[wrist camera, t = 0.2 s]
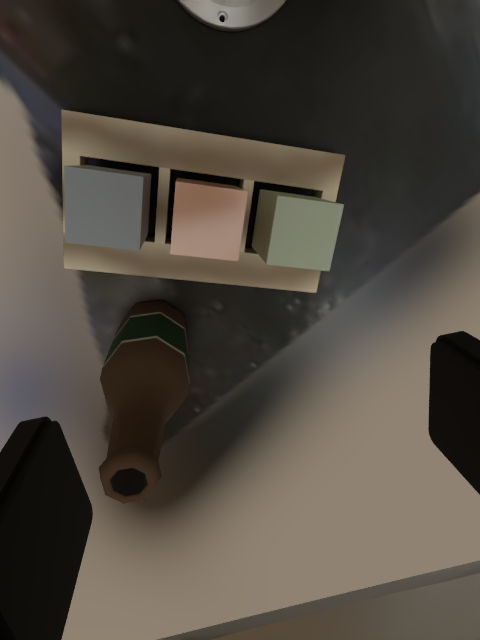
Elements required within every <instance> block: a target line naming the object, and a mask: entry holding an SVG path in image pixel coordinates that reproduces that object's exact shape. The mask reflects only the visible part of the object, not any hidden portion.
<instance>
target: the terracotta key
mask: <svg viewBox="0 0 480 640" xmlns="http://www.w3.org/2000/svg"><path fill="white" fill-rule="evenodd" d="M247 195H248V191H246V190H244V189H242V188H239V187H237V186H233V185H226V184H219V183H212V182H205V181H197V180H190V179H183V178H177V180H176V185H175V197H174V210H173V223H172V236H171V249H170V254H174V255H183V256H192V257H202V258H211V259H220V260H229V261H238V260H239V253H240V246H241V239H242V231H243V224H244V217H245V210H246V202H247Z"/></svg>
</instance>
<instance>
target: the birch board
mask: <svg viewBox="0 0 480 640" xmlns="http://www.w3.org/2000/svg"><path fill="white" fill-rule="evenodd" d="M61 112H62V175H63V238H64V268H67V269H77V270H88V271H98V272H108V273H118V274H129V275H139V276H149V277H159V278H170V279H180V280H190V281H200V282H211V283H221V284H231V285H241V286H252V287H262V288H272V289H282V290H293V291H303V292H313V293H316V291H317V286H318V282H319V277H320V272H321V270H313V269H304V268H294V267H285V266H276V265H267V264H266V263H265V262H264V261H263V260H262V258H261V257H260V256H259V255H258V253H257V252H256V251H255V250H254V249H253V248H246V247H245V243H246V236H247V229H248V222H249V215H250V208H251V201H252V194H253V187H254V181H259V182H266V183H273V184H280V185H287V186H294V187H301V188H308V189H314V192H313V197H317V198H321V199H324V200H328V201H332V202H336V197H337V192H338V188H339V183H340V178H341V173H342V169H343V164H344V159H345V155H341V154H335V153H328V152H322V151H316V150H310V149H304V148H297V147H291V146H285V145H279V144H272V143H266V142H260V141H254V140H248V139H241V138H235V137H229V136H223V135H217V134H210V133H204V132H198V131H192V130H186V129H179V128H173V127H167V126H161V125H154V124H148V123H142V122H136V121H130V120H123V119H117V118H111V117H105V116H99V115H92V114H86V113H80V112H74V111H68V110H61ZM87 157H92V158H99V159H106V160H113V161H120V162H127V163H134V164H141V165H148V166H155V167H159V181H158V197H157V213H156V228H155V237H150V236H147V237H146V239H145V241H144V243H143V245H142V247H141V249H140V251H137V250H127V249H118V248H109V247H100V246H90V245H81V244H72V243H65V182H64V166H79V165H87ZM171 169H175V170H182V171H189V172H196V173H203V174H210V175H217V176H224V177H231V178H238V179H240V183H239V188H242V189H244V190H246V191H248V195H247V202H246V210H245V217H244V224H243V231H242V239H241V246H240V253H239V260H238V261H229V260H220V259H211V258H202V257H192V256H183V255H174V254H170V249H171V239H167V238H166V233H167V220H168V206H169V192H170V178H171Z"/></svg>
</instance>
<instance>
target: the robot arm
mask: <svg viewBox="0 0 480 640" xmlns="http://www.w3.org/2000/svg"><path fill="white" fill-rule="evenodd" d="M176 1H177V2H178V3H179V4H180V5H181V6H182V7H183V8H184V10H185V11H186V12H187V13H189V14H190V15H191V16H192V17H194V18H195V19H196V20H197V21H199V22H201V23H203V24H205V25H207V26H209V27H211V28H214V29H218V30H222V31H235V32H238V31H243V30H248V29H251V28H254V27H256V26H258V25H260V24H262V23H264V22H265V21H267V20H268V19H269V18H271V17H272V16H273V15H274V14H275V13H276V12H277V11H278V10H279V9H280V8H281V6H282V5H283V4H284V3H285V1H286V0H176ZM220 17H224V19H225V21H224V22H220V20H219V18H220ZM429 435H430V437H431V440H432V441H433V443H434V444H435V445H436V446H437V448H438V449H439V450H440V451H441V452H442V453H443V454H444V456H445V457H446V458H447V459H448V460H449V461H450V462H451V463H452V464H453V465H454V467H455V468H456V469H457V470H458V471H459V472H460V473H461V474H462V475H463V477H464V478H465V479H466V480H467V481H468V482H469V483H470V484H471V485H472V486H473V488H474V489H475V490H476V491H477V492H478V493H479V494H480V340H478V339H477V338H475V337H473V336H472V335H470V334H468V333H466V332H464V331H460V332H455V333H450V334H445V335H440V336H439V337H438V338H437V340H436V342H435V343H433V344H432V345H431V354H430V395H429ZM92 515H93V513H92V506H91V502H90V500H89V497H88V495H87V492H86V490H85V487H84V485H83V482H82V480H81V477H80V475H79V472H78V469H77V467H76V464H75V462H74V459H73V457H72V454H71V452H70V449H69V447H68V444H67V442H66V439H65V437H64V434H63V432H62V429H61V426H60V424H59V423H58V422H57V421H51V420H50V419H49V418H48V417H41V418H36V419H31V420H27V421H22V422H20V423H19V424H18V425H17V427H16V429H15V430H14V432H13V433H12V435H11V436H10V438H9V439H8V441H7V443H6V444H5V446H4V447H3V449H2V450H1V452H0V640H61V639H62V635H63V631H64V627H65V623H66V619H67V615H68V612H69V608H70V604H71V600H72V596H73V592H74V588H75V585H76V580H77V577H78V572H79V569H80V565H81V561H82V557H83V554H84V550H85V546H86V541H87V538H88V534H89V530H90V526H91V523H92ZM158 640H480V561H476V562H472V563H468V564H464V565H459V566H455V567H451V568H447V569H442V570H439V571H435V572H430V573H426V574H422V575H417V576H413V577H409V578H405V579H401V580H397V581H393V582H389V583H385V584H380V585H376V586H372V587H368V588H364V589H360V590H356V591H352V592H348V593H344V594H340V595H336V596H331V597H327V598H323V599H319V600H315V601H311V602H307V603H303V604H299V605H295V606H291V607H287V608H282V609H278V610H274V611H270V612H266V613H263V614H259V615H254V616H250V617H246V618H242V619H238V620H234V621H230V622H226V623H222V624H218V625H214V626H210V627H206V628H202V629H198V630H194V631H190V632H186V633H182V634H179V635H174V636H170V637H166V638H162V639H158Z"/></svg>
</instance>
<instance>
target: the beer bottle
mask: <svg viewBox="0 0 480 640" xmlns="http://www.w3.org/2000/svg"><path fill="white" fill-rule="evenodd" d="M100 381H101V384H102V388H103V391H104V395H105V399H106V402H107V406H108V410H109V413H110V415H111V416H112V417H113V423H112V429H111V435H110V441H109V447H108V453H107V458H106V460H105V461H104V462H103V463H102V465H101V466H100V467H99V471H100V479H101V482H102V485H103V488H104V492H105V495H107V496H109V497H111V498H113V499H116V500H118V501H120V502H122V503H128V502H134V501H140V500H145V499H146V498H147V496H148V495H149V494H150V493H151V492H152V491H153V489H154V488H155V487H156V486H157V484H158V482H159V480H160V478H161V471H160V467H159V463H158V461H159V455H160V449H161V444H162V438H163V432H164V427H165V423H166V422H167V421H168V420H169V419H170V417H171V416H172V415H173V414H174V413H175V411H176V410H177V409H178V408H179V407H180V405H181V404H182V403H183V402H184V400H185V399H186V397H187V396H188V393H189V385H190V380H189V344H188V338H187V332H186V326H185V320H184V314H182V313H181V312H179V311H178V310H176V309H175V308H173V307H172V306H170V305H169V304H167V303H166V302H164V301H163V300H158V301H151V302H144V303H137V304H135V305H134V307H133V308H132V309H131V311H130V312H129V313H128V315H127V316H126V317H125V319H124V320H123V321H122V323H121V324H120V326H119V328H118V330H117V332H116V335H115V337H114V340H113V343H112V345H111V348H110V350H109V353H108V355H107V358H106V360H105V363H104V365H103V368H102V372H101V377H100Z"/></svg>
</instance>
